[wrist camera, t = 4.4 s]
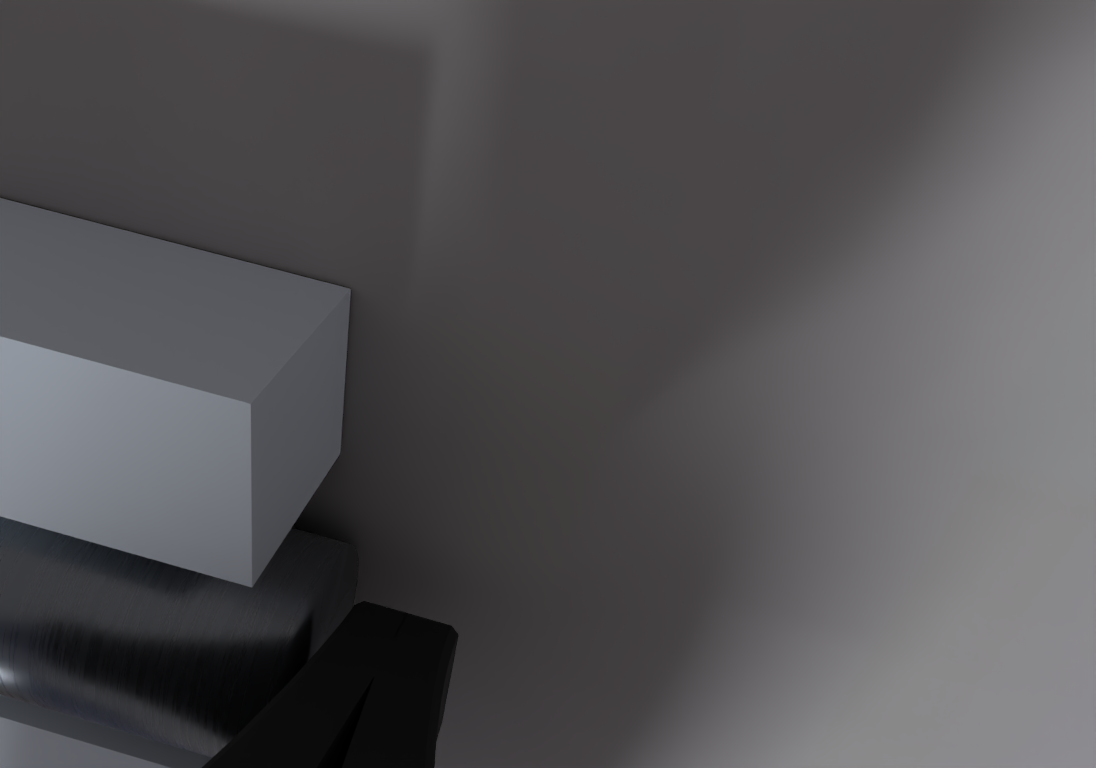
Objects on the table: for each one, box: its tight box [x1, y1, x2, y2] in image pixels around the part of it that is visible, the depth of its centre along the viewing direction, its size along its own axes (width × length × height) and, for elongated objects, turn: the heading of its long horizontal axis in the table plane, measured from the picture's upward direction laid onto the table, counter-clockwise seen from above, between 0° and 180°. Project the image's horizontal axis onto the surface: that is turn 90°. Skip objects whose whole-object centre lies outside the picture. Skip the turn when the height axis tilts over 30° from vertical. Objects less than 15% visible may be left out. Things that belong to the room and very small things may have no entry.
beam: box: [0, 198, 351, 768], centre depth 12 cm, size 9×5×2 cm, turn 170°
